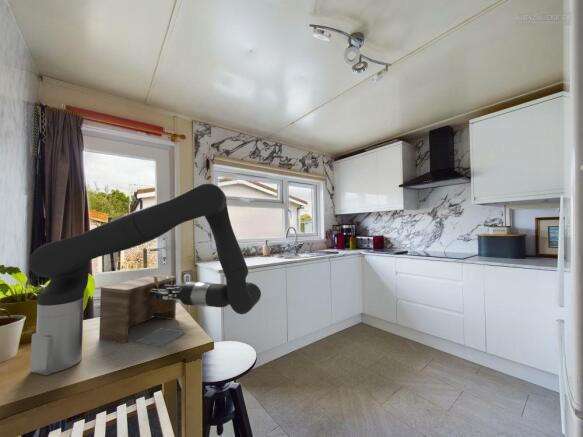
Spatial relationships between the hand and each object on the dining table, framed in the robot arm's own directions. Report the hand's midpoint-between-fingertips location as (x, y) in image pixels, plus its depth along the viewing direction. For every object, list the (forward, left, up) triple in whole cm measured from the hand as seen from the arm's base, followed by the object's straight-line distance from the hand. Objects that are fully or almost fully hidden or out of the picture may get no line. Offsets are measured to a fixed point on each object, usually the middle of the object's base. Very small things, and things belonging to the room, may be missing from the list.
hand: (157, 290), depth 84 cm
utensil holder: (0, -3, -7) cm, 7 cm away
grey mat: (0, -3, -16) cm, 16 cm away
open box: (+4, +11, -16) cm, 20 cm away
